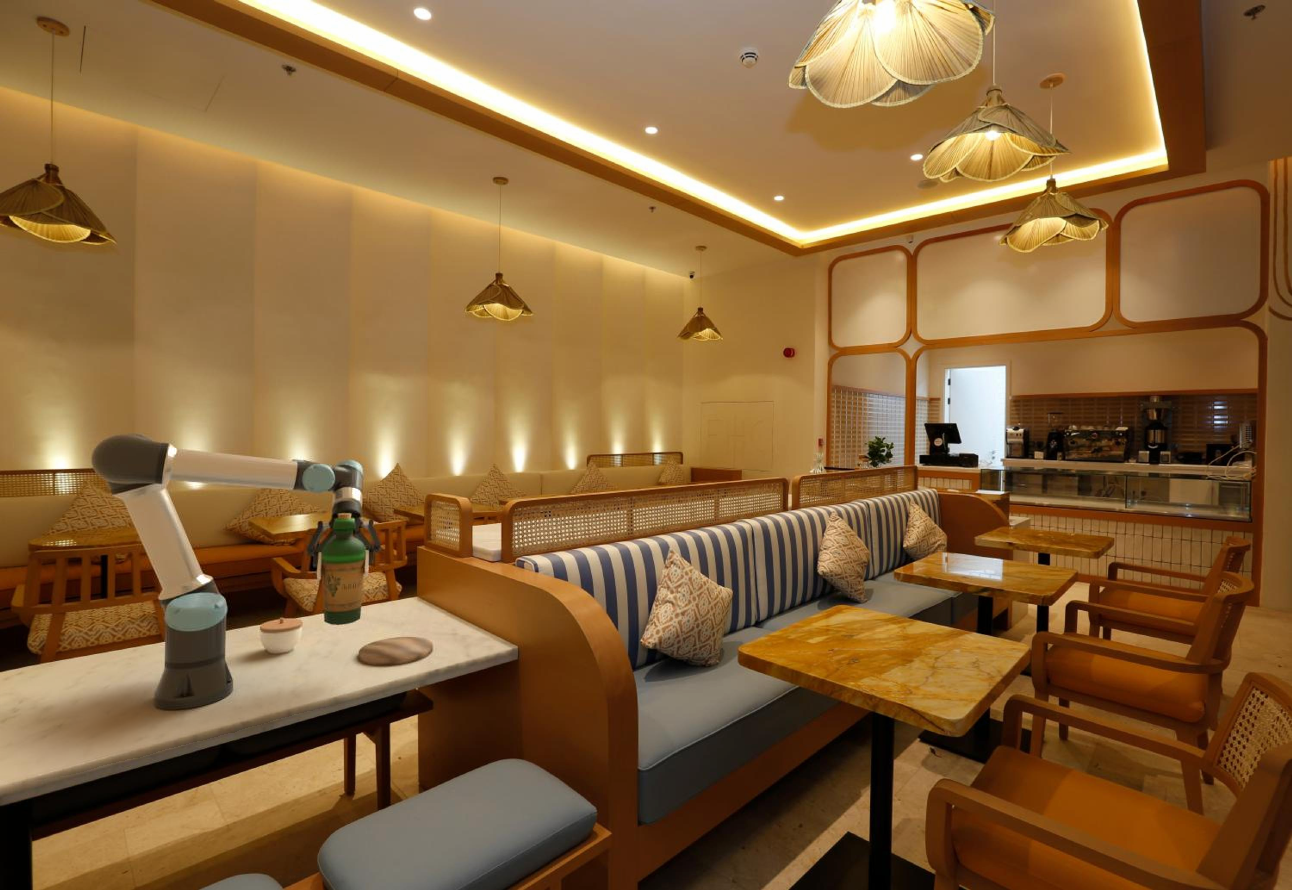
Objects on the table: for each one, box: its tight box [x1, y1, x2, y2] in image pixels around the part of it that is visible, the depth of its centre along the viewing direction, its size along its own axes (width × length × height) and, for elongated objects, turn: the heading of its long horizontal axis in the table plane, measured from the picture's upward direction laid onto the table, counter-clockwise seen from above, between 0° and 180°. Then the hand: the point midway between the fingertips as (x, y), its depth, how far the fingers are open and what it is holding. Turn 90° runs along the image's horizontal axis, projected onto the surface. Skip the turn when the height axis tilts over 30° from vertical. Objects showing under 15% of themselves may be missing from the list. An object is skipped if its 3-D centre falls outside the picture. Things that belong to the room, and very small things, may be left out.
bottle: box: [321, 513, 366, 626], centre depth 157 cm, size 11×11×28 cm
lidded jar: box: [259, 617, 303, 655], centre depth 176 cm, size 11×11×9 cm
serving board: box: [358, 636, 434, 667], centre depth 176 cm, size 20×20×2 cm
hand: (343, 575), depth 154 cm, fingers closed on bottle, 10 cm apart
